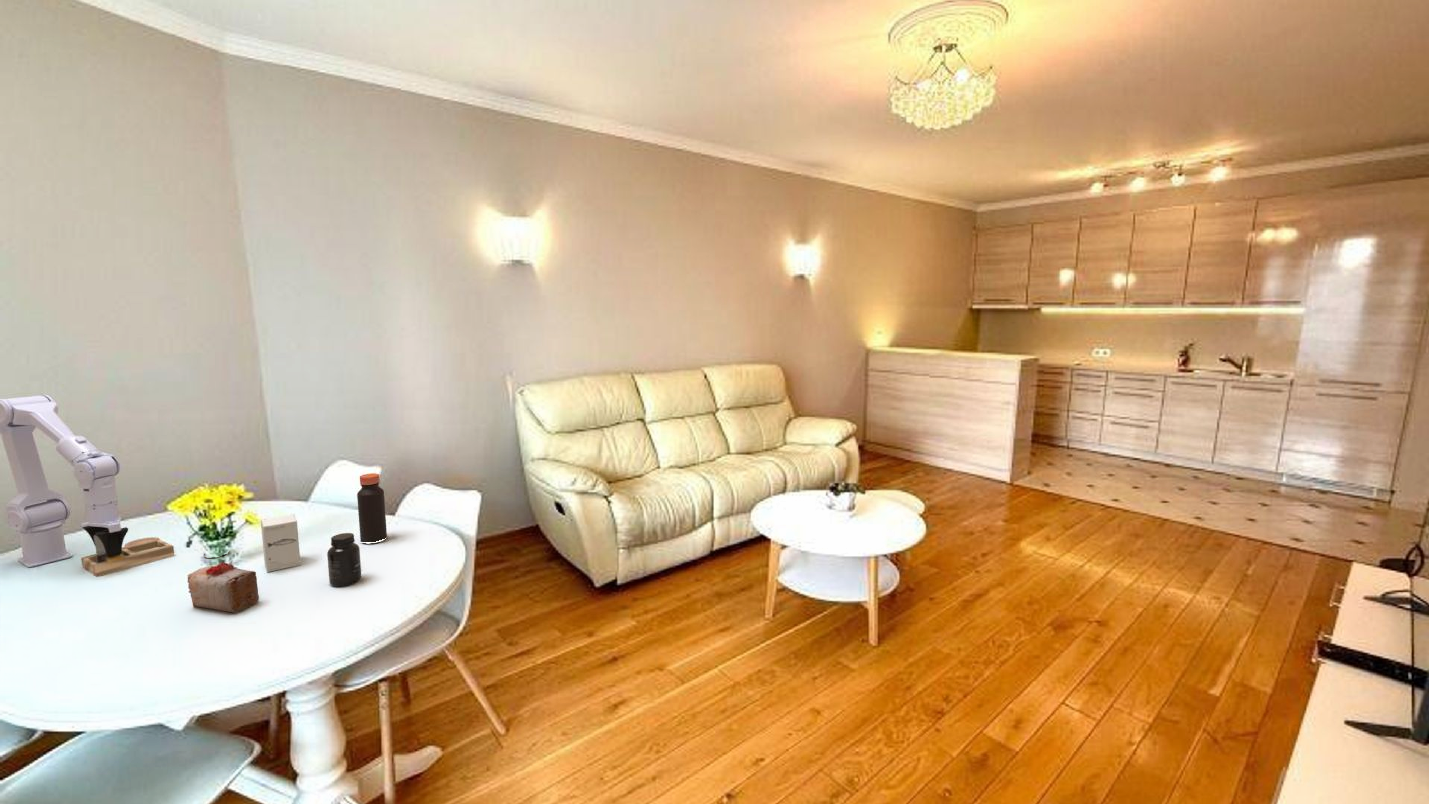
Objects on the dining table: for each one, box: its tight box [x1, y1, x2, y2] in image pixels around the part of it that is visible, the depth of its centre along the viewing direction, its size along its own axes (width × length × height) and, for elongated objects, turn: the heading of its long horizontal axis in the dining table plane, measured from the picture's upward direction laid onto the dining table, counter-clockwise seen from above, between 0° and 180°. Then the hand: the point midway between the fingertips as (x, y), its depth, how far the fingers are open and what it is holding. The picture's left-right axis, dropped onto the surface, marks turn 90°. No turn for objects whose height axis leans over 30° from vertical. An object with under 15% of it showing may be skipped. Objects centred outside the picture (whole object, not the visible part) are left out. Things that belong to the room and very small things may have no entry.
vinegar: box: [356, 472, 388, 543], centre depth 167 cm, size 7×7×20 cm
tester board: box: [81, 538, 175, 578], centre depth 151 cm, size 10×15×4 cm, turn 152°
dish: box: [123, 536, 160, 547], centre depth 159 cm, size 7×7×2 cm
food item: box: [187, 559, 260, 614], centre depth 130 cm, size 14×8×10 cm, turn 77°
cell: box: [94, 530, 109, 563], centre depth 147 cm, size 4×4×9 cm
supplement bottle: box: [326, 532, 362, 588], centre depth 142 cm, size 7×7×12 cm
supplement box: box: [260, 513, 302, 573], centre depth 150 cm, size 7×7×13 cm
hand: (109, 552), depth 147 cm, fingers open, 7 cm apart
